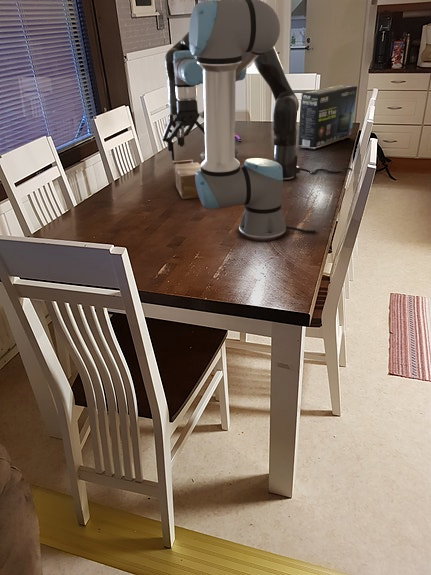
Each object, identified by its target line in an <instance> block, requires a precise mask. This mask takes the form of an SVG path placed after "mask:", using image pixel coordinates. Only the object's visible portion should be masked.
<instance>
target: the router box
mask: <svg viewBox="0 0 431 575" xmlns="http://www.w3.org/2000/svg"><path fill="white" fill-rule="evenodd" d="M357 93H358V86H356V85H350V84H339V85H338V84H337V85H334V86H328V87H324V88H318V89H314V90H309V91H304V92H301V93H300V109H299V110H300V111H299V124H298V137H297V146H298V145H302V146H307V147H317V146H320V145H323V144H325V143H328V142H331V141H333V140H336V139H338V138H341V137H344V136H347V135H351V136H352V133H353V132H352V131H353V125H354V115H355V109H356V99H357ZM311 151H313V150H312V149H311Z"/></svg>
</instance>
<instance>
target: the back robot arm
mask: <svg viewBox="0 0 431 575" xmlns="http://www.w3.org/2000/svg"><path fill="white" fill-rule="evenodd" d="M189 44H190V43H189V31H188V32H186V34H184V36H182V37H181V39H180V40H179V41H178V42H176V43H175V44H174V45H173V46H172V47H171V48H169V50H168V51H166V53H165V56H164V61H165V69H166V70H165V71H166V75H167V90H168V91H167V92H168V93H167V95H168V96H167V100H168V111H169V114H174V115H177V100H178V99H177V98H176V86H175V73H174V64H173V61H174V59H173V54H174V52H176V51H184V50H190V47H189ZM252 63H253V64H254V66H255V68H256V70H257V72H258V73H259V75H260V76H261V78H262V79H263V80H264V81H265V83H266V84H267V85H268V87H269V89H270V91H271V93H272V96H273V98H274V101H275V102H274V104H273V108H272V109H273V110H272V130H273V150H272V151H273V152H272V153H273V154H272V155H273V156H272V161H275V162H277V163H279V164H280V165H281V166H282V170H283V181H291V180H294V179H295V178H297V174H300V173H301V171H304V172H307V173H308V172H309V173H308V174H310V175H315V174H316V173H317V172H319V171H322V172H326V173H331V174H339V173H342V172H343V171H340V170H330V169H326V168H316V169H315V170H314V171H310V170H309V169H306V168H301V167H300V166H298V154H296V152H297V134H298V132H297V113H298V111H299V110H300V101H299V99H298V97H297V95H296V94H295V92H294V90H293V88H292V87H291V85H290V83H289V80H288V79H287V76H286V74H285V71H284V68H283V66H282V63H281V60H280V58H279V55H278V52H277V51H276V48H275V46H274V47H273V48H272V49H271V50H270V51H269V52H267V53H266V54H264V55H259V56H258V57H257V58H256V59H255V60H254V61H253V62H252ZM178 122H179V120H178V119H177V118H175V120H174V121H173V123H172V126H171V128H170V131H169V134H171V133H172V131H173V129H174V128H175V127H176V125H177V123H178ZM195 125H196V124H194V125H193V126H182V127H181V128H180V129H179V131H178V132H177V134H176V135H175V137H174V138H176V142H177V143H176V144H177V145H178V146H179V147H180V148H182V147H184V146H185V137H187V136H189V134H190V133H191V131H192V129H193V128H194V126H195ZM166 126H167V123H165V124H164V128H166ZM172 127H173V129H172ZM329 170H330V171H329ZM341 170H344V171H346V170H349V171H351V172H353V168H351V167H349V166H347V167H344V168H342V169H341ZM310 172H312V173H310Z"/></svg>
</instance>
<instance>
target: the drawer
mask: <svg viewBox="0 0 431 575" xmlns="http://www.w3.org/2000/svg"><path fill="white" fill-rule="evenodd" d="M187 163H195V160H194V159H187V160H186V159H185V160H176V161H175V160H173V161H172V169H173V177H174V179H175V180H176V178H175V166H174V165H177V164H187Z"/></svg>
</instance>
